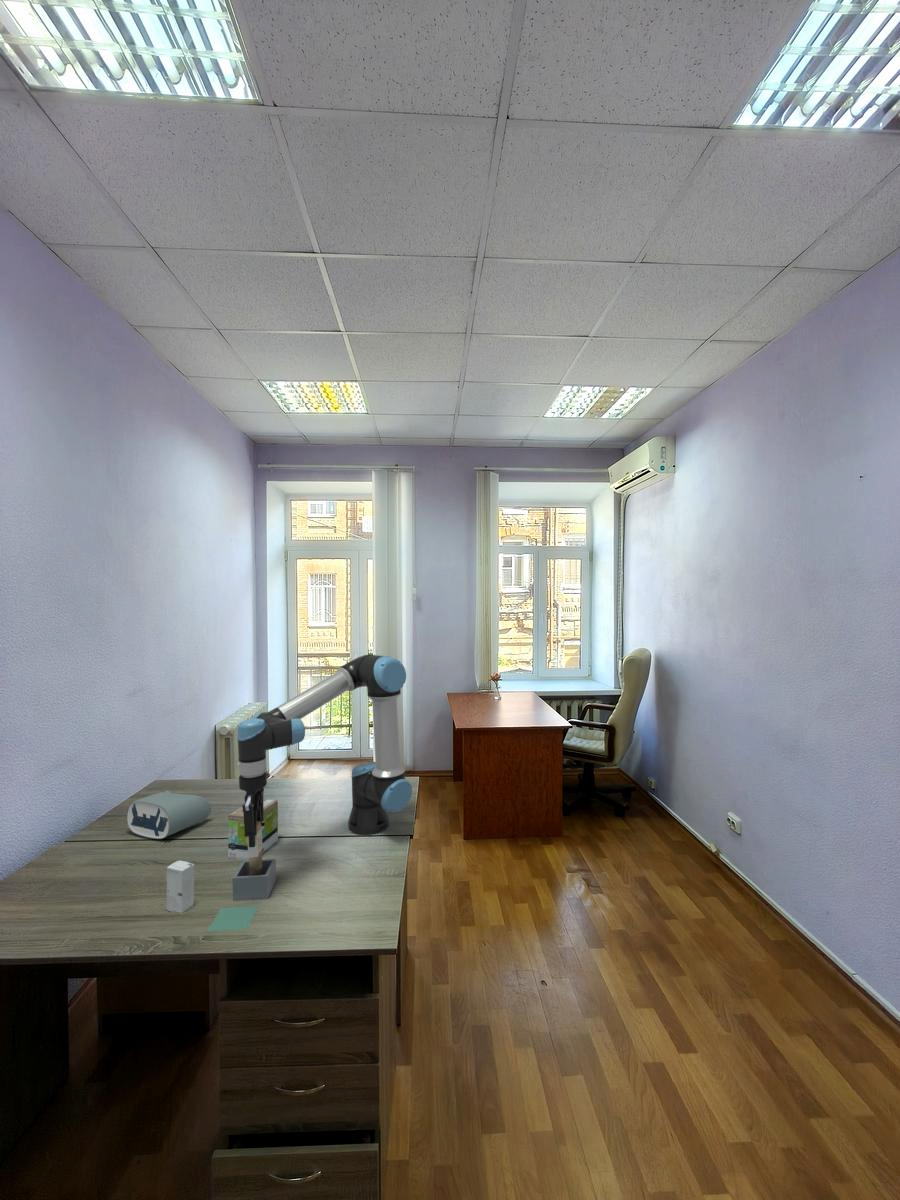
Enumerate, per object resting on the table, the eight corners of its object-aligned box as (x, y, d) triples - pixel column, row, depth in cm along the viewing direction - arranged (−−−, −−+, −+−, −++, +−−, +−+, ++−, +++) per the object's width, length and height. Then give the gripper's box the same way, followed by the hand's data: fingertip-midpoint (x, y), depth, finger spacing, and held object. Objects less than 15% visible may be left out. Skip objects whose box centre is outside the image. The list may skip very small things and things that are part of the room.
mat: (258, 907, 144) (258, 905, 144) (247, 931, 134) (247, 928, 134) (221, 910, 143) (220, 908, 143) (207, 933, 133) (207, 931, 133)
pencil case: (125, 834, 191) (126, 798, 191) (170, 815, 208) (171, 783, 209) (168, 843, 182) (169, 806, 183) (212, 823, 200) (212, 790, 200)
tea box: (255, 861, 169) (254, 816, 169) (227, 859, 171) (226, 814, 171) (279, 840, 184) (278, 798, 184) (253, 838, 186) (252, 797, 186)
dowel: (264, 873, 154) (262, 820, 153) (260, 880, 150) (258, 825, 150) (251, 874, 154) (249, 821, 153) (247, 881, 150) (245, 826, 150)
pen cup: (276, 882, 157) (275, 859, 157) (267, 900, 147) (267, 876, 147) (243, 884, 156) (243, 860, 156) (233, 902, 146) (232, 878, 146)
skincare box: (165, 910, 143) (164, 867, 143) (179, 901, 148) (178, 859, 147) (182, 915, 141) (181, 871, 141) (195, 906, 145) (194, 863, 145)
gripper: (248, 764, 159) (250, 840, 160) (230, 784, 143) (232, 868, 143) (273, 763, 160) (275, 839, 160) (258, 782, 143) (260, 866, 144)
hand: (255, 852), depth 152 cm, fingers closed on dowel, 3 cm apart
